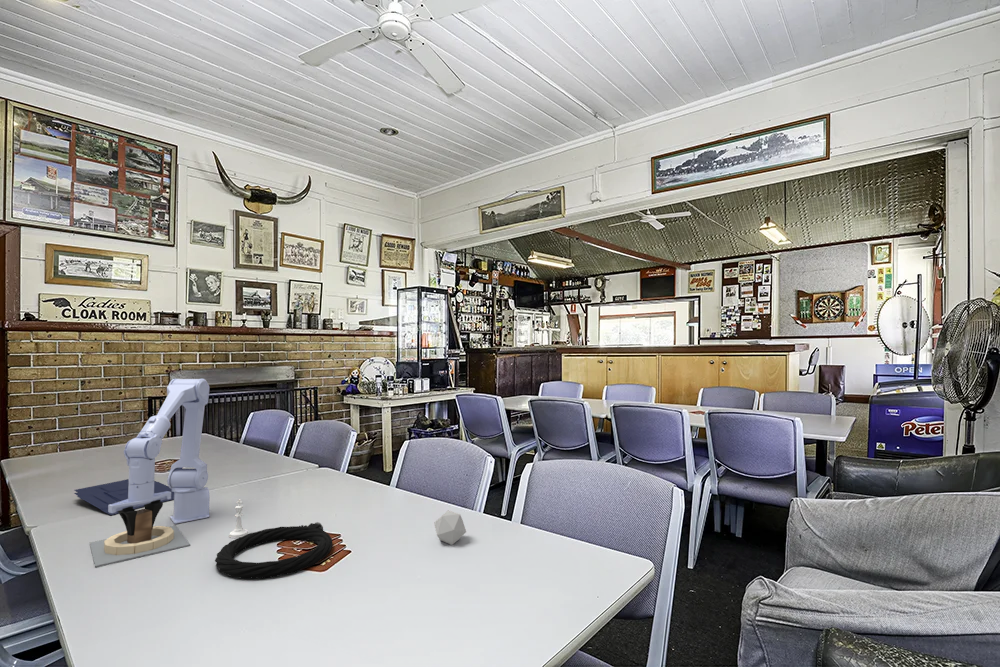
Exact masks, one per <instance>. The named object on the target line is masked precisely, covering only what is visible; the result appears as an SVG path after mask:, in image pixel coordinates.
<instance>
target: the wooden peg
mask: <svg viewBox="0 0 1000 667" xmlns="http://www.w3.org/2000/svg"><path fill="white" fill-rule="evenodd" d="M136 511H137V515H136V519H135V530H134V535H133V536H130V535H127V543H130V544H132V543H139V542H144V541H149V540H151V535H152V511H151V510H148V509H145V508H141V509H136Z"/></svg>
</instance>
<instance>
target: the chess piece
mask: <svg viewBox="0 0 1000 667" xmlns="http://www.w3.org/2000/svg"><path fill="white" fill-rule="evenodd" d="M236 504H237V505H236V506H235V508H234V509H235V511H236V514H234V516H235V517H236V523H235V528H234V529H233V530H232V531H230V532H229V534H228V537H229V538H232V539H238V538H240V537H242V536H245V535H247V534H249V530H248V529H246V528H244V527H243V524H242V517H243V516H244V513H242V511H243V508H244V505H243V501H242V500H241V499H240V498H239V499H238V500H237V501H236Z"/></svg>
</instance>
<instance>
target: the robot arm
mask: <svg viewBox="0 0 1000 667" xmlns="http://www.w3.org/2000/svg"><path fill="white" fill-rule="evenodd" d="M168 383H169V384H168V385H167V387H166V395H167V396H166V398H165V400H164V402H163V403H162V405H161V406H160V408H159V410H158V412H157V414H156V415H152V416H150V417H149V418H148V419H147V421H146V423H145V424H144V426H143V427H142V429H141V430H140V431H139V433H137V435H136V437H133V438H132V439H130V440H128V441H127V442H126V444H125V446H124V449H123V455H124V458H125V459H126V465H127V466H128V479H129V487H128V499H126V500H123V501H120V502H117V503H114V504H110V505H108V512H109V513H115V512H116V511H118V514H119V516H120V518H121V520H122V521H123V524H124V525H125V529H126V530H125V531H127V535H130V536H133V535H134V530H135V519H136V515H137V510H135V509H133V507H137V506H141V505H144V507H143V508H144V509H148V510H151V511H152V529H153V526H155V525H154V524H155V522H156V519H157V516H158V514H159V513H160V511H161V509H162V508H163V505H164V503H163V502H160V501H161V500H165V499H166V500H168V499H171V492H169V491H166V492H161V493H154V481H155V473H156V472H155V468H156V465H155V464H156V463H155V462H156V458H157V457H158V456H159V454H160V452H161V450H162V449H161V448H162V447H161V446H162V445H163V439H164V437H165V435H166V434H167V432H168V430H169V429H170V428H171V425H172V424H171V422H170V420H171V419H172V417H173V416H175V415H174V414H176V413H177V411H178V410H179V409H180V407H184V408H185V411H184V419H183V421H184V422H183V428H182V429H183V430H182V437H181V438H182V440H181V448H180V455H179V459H178V460H176V461H175V462H174V463H172V465H171V466H170V471H169V473H168V476H167V480H166V482H167V486H169V488H171V489H172V492H174V499H173V515H170V516H169V518H170V520H171V521H172V523H173V524H174V525H176V524H177V525H178V524H181V523H187V522H190V521H191V522H192V521H196V520H203V519H206V518H210V489H209V487H207V486H206V485H207V483H208V480H209V472H208V464H207V462H205V461H203V460H202V459H201V458H200V453H201V452H200V451H201V444H202V432H203V424H204V416H205V408H206V407H205V406H206V405H208V403H209V397H210V395H209V394H210V385H209V382H208V381H207V380H206V379H205V378H172V379H171V380H170V381H169V382H168Z"/></svg>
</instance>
